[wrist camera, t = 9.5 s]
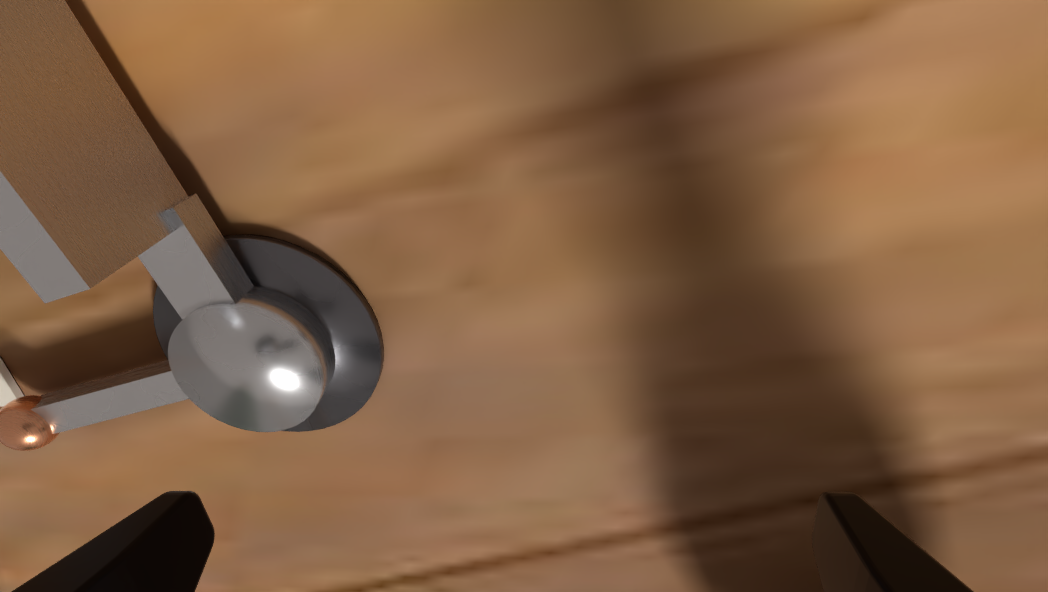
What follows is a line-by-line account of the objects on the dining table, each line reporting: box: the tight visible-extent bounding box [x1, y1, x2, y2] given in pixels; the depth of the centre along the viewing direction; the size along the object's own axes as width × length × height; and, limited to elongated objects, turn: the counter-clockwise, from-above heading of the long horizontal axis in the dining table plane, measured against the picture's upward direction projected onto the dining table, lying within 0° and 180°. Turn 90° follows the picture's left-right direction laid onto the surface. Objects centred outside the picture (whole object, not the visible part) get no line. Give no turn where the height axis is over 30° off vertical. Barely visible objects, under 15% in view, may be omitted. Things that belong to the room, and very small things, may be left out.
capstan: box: [0, 0, 336, 451], centre depth 18 cm, size 13×14×5 cm
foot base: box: [153, 235, 384, 432], centre depth 21 cm, size 8×8×1 cm
